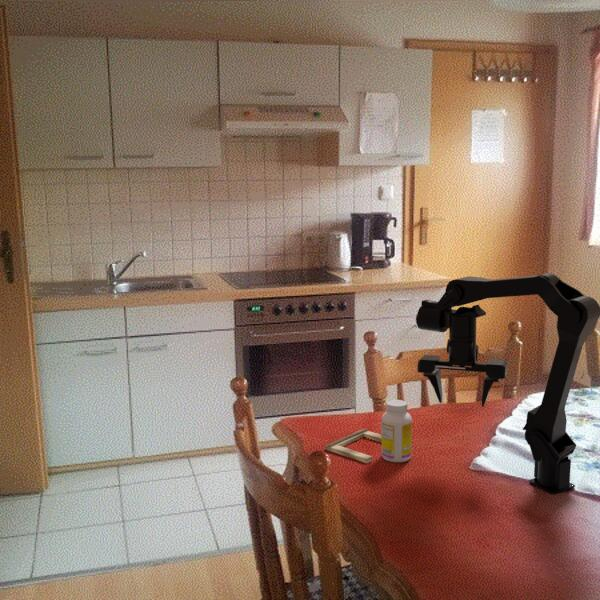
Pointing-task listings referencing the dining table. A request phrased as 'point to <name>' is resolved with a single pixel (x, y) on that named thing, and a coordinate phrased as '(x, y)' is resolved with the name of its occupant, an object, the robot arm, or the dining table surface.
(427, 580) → the dining table surface
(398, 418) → the supplement bottle
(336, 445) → the frame
